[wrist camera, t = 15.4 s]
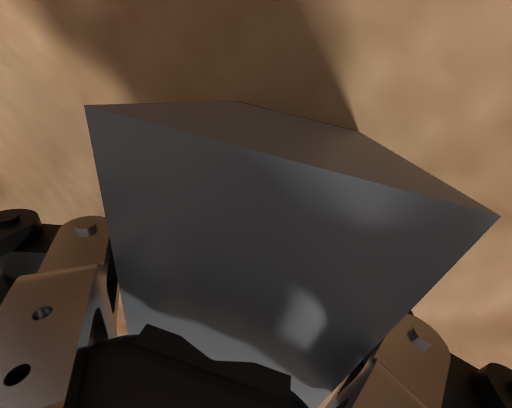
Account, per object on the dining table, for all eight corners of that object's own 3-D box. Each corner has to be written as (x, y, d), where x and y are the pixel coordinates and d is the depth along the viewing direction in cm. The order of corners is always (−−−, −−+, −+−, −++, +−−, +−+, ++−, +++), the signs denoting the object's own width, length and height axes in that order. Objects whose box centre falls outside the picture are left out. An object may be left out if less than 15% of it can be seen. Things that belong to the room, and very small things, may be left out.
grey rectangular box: (359, 131, 10) (501, 216, 3) (298, 269, 15) (292, 433, 8) (235, 101, 11) (83, 105, 3) (215, 243, 15) (135, 372, 8)
